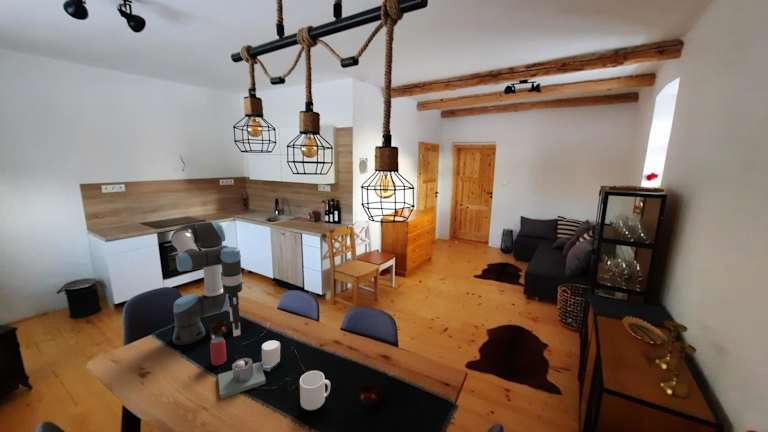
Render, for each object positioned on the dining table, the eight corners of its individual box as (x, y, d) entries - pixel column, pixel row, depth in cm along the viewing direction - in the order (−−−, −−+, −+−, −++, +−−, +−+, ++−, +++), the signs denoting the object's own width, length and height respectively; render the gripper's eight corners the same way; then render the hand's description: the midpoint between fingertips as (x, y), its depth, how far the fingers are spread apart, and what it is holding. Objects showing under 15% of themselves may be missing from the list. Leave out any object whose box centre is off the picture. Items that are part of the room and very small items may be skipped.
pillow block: (218, 378, 137) (216, 360, 136) (260, 365, 147) (259, 348, 145) (220, 399, 126) (218, 379, 124) (265, 383, 135) (264, 365, 133)
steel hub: (232, 373, 137) (231, 361, 136) (251, 367, 141) (250, 356, 140) (234, 384, 131) (233, 372, 130) (254, 378, 135) (253, 366, 134)
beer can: (220, 367, 145) (218, 344, 143) (208, 365, 146) (206, 342, 144) (229, 358, 151) (227, 336, 149) (218, 356, 153) (216, 335, 150)
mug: (296, 409, 121) (295, 386, 119) (305, 390, 131) (304, 369, 129) (327, 412, 120) (326, 389, 118) (333, 393, 130) (333, 372, 128)
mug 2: (271, 352, 142) (257, 349, 144) (272, 369, 144) (258, 366, 146) (285, 338, 154) (271, 335, 156) (286, 354, 155) (272, 352, 157)
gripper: (220, 274, 139) (223, 316, 143) (224, 296, 118) (228, 344, 122) (238, 271, 143) (241, 312, 147) (245, 292, 122) (248, 339, 126)
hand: (235, 327), depth 135 cm, fingers open, 13 cm apart
